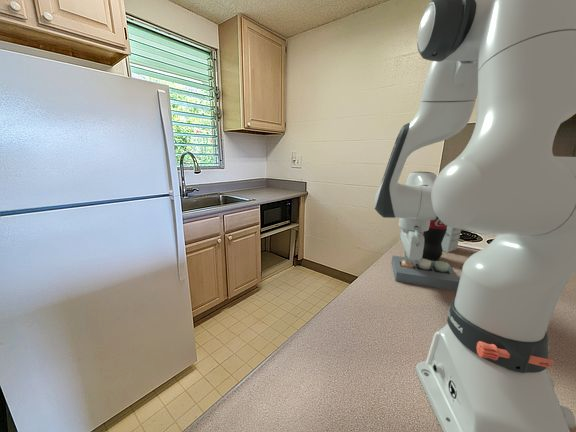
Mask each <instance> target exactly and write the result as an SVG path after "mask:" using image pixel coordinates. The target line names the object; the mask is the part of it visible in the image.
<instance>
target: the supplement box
mask: <svg viewBox="0 0 576 432" xmlns="http://www.w3.org/2000/svg"><path fill="white" fill-rule="evenodd" d="M461 232H462V230H460V229H456V228H452V227H449V226H447V231H446V233H445V236H444V238H443V241H442V252H445V253H449V252H453V250H454V251H457V248H458V245H459V241H460V236H461Z"/></svg>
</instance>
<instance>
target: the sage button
mask: <svg viewBox="0 0 576 432" xmlns="http://www.w3.org/2000/svg"><path fill="white" fill-rule="evenodd" d="M435 261H436V263H435V269H436V270H438V271H440V272H447V271H448V266H449V265H450V263H449V262H446V261H443V260H435ZM448 263H449V264H448Z"/></svg>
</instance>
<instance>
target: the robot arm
mask: <svg viewBox="0 0 576 432" xmlns="http://www.w3.org/2000/svg"><path fill="white" fill-rule="evenodd" d="M416 36H417V42H416V43H417V51H418V53H419V55H420V56H421V58H422V59H423V60H425V61H426V60H427V61H430V62H431V63H430V66H429V68H428V70H427V74H426V77H425V81H424V83H423V88H422V91H421V96H420V101H419V105H418V109H417V111H416V113H415V114H414V116H413V118H412V119H411V120H410V121H409V122H407V123H405V124H403V126H402V127H401V128H400V130H399V132H398V134H397V137H396V140H395V142H394V145H393V148H392V150H391V153H390V156H389V159H388V162H387V165H386V168H385V171H384V172H383V173H384V174H383V177H382V180H381V181H380V185H379V187H378V189H377V191H376V192H375V196H374V198H373V199H374V200H373V206H374V209H375V211H376V213H377V214H378V215H380V216H381V217H382V218H387V219H388V218H389V219H392V218H393V219H395V218H397V219H398V227H399V228H400V230H399V235H400V236H399V237H400V241H401V244H402V245H403V246H402V247H403V249H404V256H403V257H404V260H405V263H408V264H410V263H411V261H412V260H417V261H420V260H421V259H423V258H422V256H423V249H424V236H423V233H424V231H428V230H429V226H430V220H437V219H438V218H439V219H440V220H441V222H443V223H444V224H445V225H447V226H449V227H452V228H456V229H460V230H461V231H464V232H469V233H474V234H479V235H485V236H490V235H491V236H495V237H494V239H492V241H491V242H489V244H488V245H486V246H485V247H483V248H482V249H480V250H478V251H477V252H475V253H473V254H471V255H470V256H469V257H468V258H467V259H466V260H465V261H464V263H463V265H462V269H461V273H460V276H459V278H460V280H459V285H458V289H457V291H456V293H455V294H456V295H455V298H453V299H452V300H451V302H450V305H449V307H448V310H447V319H446V320H447V321H446V324H445V325H444V326H443V327H442V328H440V329H439V330H438V331H436V332H435V333H434V334H433V338H432V341H431V344H430V347H429V350H428V353H427V358H426V360H423V361H420V362H418V363H417V364H416V366H415V372H416V374H417V377H418V378H419V381H420V384H421V385H422V388H423V390H424V392H425V395H426V398H427V399H428V401H429V403H430V406H431V407H432V410H433V412H434V414H435V417H436V418H437V421H438V423H439V425H440V428H441V430H442V431H443V432H571V431H570V429H573V428H574V427H575V425H576V419H575V415H574V414H575V413H574V412H573V411H572V410H571V409H570V408H569V407H566V406H564V405H561V404H560V402H559V401H560V400H558V397H557V394H556V391H555V380H554V378H553V377H551V376H549V373H548V371H547V368H550V369H552V368H553V366H552V365H549V364H554V363H555V362H554V360H552V359H549V351H550V345H549V336H548V333H547V330H548V327H549V324H550V322H551V320H552V317H553V314H554V312H555V310H556V307H557V304H558V302H559V300H560V297H561V294H562V293H563V291H564V289H565V287H566V286H567V284H568V283H569V282H570V280H571V279H572V277H573V276H574V275H575V274H576V156H557V155H556V156H554V154H553V146H554V142H555V141H554V140H555V136H556V135H557V131H558V129H559V128H560V127H561V126H560V125H561V124H562V123H564V122H565V121H568V120H569V119H570V118H572V117H573V116H575V115H576V0H431V1H430V2H429V3H428V4H427V6H426V7H425V9H424V12H423V14H422V17H421V20H420V22H419V26H418V30H417V35H416ZM476 101H477V104H476ZM475 105H477V107H476V108H477V109H476V119H475V125H474V128H473V132H472V134H471V137H470V139H469V141H468V143H467V145H466V146H465V147H464V149H463V150H462V152H461V153H460V154H459V155H458V156H457V157H456V158H454V159H453V160H452V161H450V162H449V163H448V164H447V165H445V166H444V167H443V168H442V169H441V170H440V172H439V173H438V174H437V175H436V174H435V173H434V172H430V171H412V172H410V173H409V174H408V176H407V179H406V181H405V184H401V183H399V180H400V177H401V174H402V172H403V169H404V167H405V165H406V164H405V163H406V162H407V159H408V157H410V155H411V154H412V153H414V152H415V151H417V150H419V149H421V148H424V147H427V146H430V145H433V144H436V143H439V142H443V141H446V140H448V139H451V138H452V137H454V136H455V135H457V134H459V133H460V132H461V131H462V130H463V129H464V128H465V127H466V126H467V124H468V123H469V122H470V119H471V117H472V114H473V111H474V109H475Z"/></svg>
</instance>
